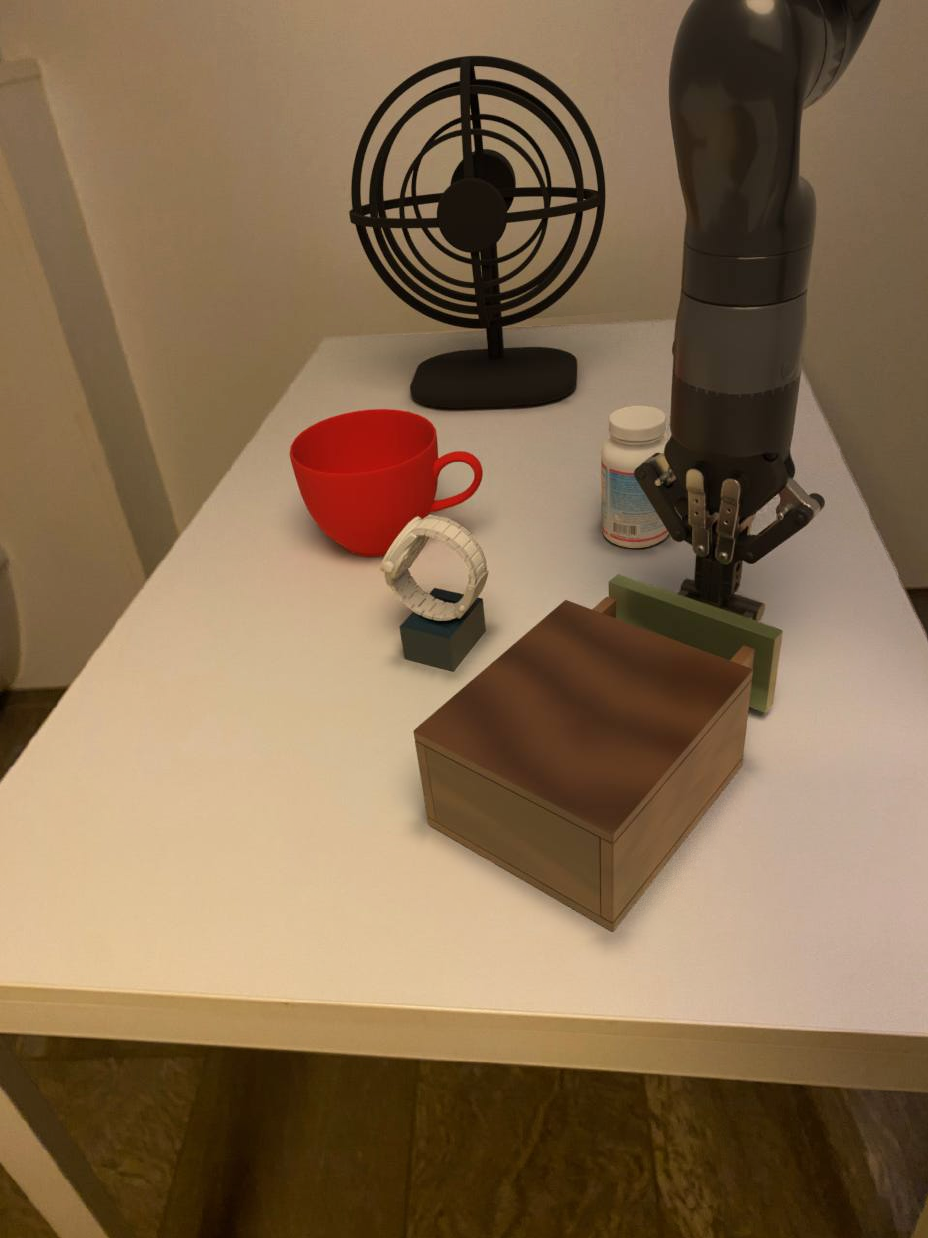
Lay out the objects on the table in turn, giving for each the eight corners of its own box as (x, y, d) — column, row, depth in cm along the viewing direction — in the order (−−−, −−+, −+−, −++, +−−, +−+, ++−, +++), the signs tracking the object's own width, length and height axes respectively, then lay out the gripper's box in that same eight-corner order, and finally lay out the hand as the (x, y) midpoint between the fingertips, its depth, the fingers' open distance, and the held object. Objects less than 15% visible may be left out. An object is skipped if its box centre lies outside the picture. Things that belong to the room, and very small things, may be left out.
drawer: (649, 612, 75) (651, 543, 71) (802, 667, 68) (813, 594, 64) (499, 756, 64) (492, 683, 60) (665, 839, 57) (669, 763, 53)
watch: (417, 614, 79) (400, 496, 73) (505, 635, 76) (495, 513, 69) (382, 653, 75) (360, 533, 69) (473, 677, 72) (460, 553, 65)
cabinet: (568, 690, 70) (565, 599, 65) (742, 765, 62) (753, 668, 57) (428, 825, 61) (412, 730, 56) (612, 932, 53) (613, 833, 48)
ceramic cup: (473, 582, 82) (462, 477, 76) (289, 572, 86) (265, 472, 80) (501, 506, 92) (494, 409, 86) (335, 501, 96) (318, 407, 90)
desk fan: (369, 422, 111) (314, 77, 90) (394, 363, 125) (351, 53, 104) (606, 413, 107) (605, 51, 86) (605, 354, 121) (604, 30, 100)
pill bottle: (684, 533, 85) (691, 416, 79) (633, 558, 83) (635, 439, 76) (638, 508, 90) (640, 395, 83) (587, 531, 87) (585, 416, 81)
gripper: (870, 360, 56) (828, 600, 67) (670, 324, 64) (659, 546, 74) (818, 408, 52) (781, 657, 62) (609, 364, 59) (607, 594, 69)
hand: (715, 596), depth 68 cm, fingers closed
